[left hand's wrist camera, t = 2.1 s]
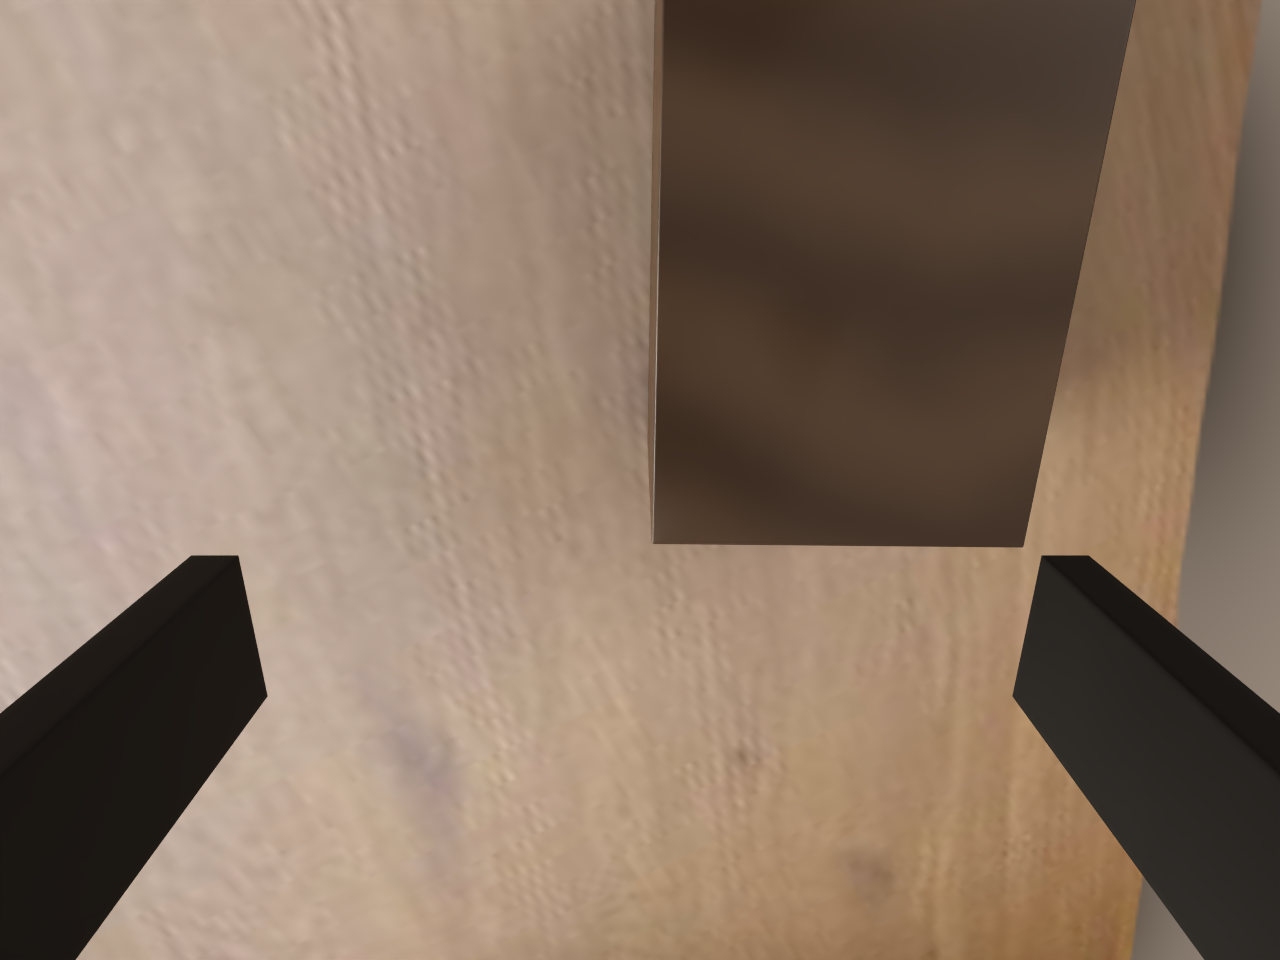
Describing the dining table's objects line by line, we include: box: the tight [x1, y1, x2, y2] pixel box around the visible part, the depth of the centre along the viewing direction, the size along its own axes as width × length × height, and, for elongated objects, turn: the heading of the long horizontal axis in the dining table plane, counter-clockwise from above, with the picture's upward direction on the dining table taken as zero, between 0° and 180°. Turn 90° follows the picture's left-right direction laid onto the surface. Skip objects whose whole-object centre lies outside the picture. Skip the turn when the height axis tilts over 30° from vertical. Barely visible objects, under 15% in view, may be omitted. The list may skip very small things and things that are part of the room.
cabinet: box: [648, 0, 1136, 547], centre depth 25 cm, size 16×11×10 cm
